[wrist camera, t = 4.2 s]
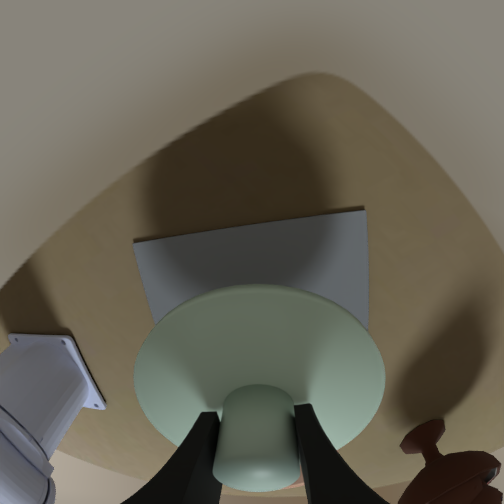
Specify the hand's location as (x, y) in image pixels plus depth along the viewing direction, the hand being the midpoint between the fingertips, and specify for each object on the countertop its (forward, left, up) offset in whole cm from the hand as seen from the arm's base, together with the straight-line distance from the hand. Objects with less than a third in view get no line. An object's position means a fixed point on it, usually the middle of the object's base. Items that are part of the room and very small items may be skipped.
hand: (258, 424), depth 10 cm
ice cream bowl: (+15, -18, -9) cm, 25 cm away
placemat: (0, 0, -8) cm, 8 cm away
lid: (0, 0, -2) cm, 2 cm away
